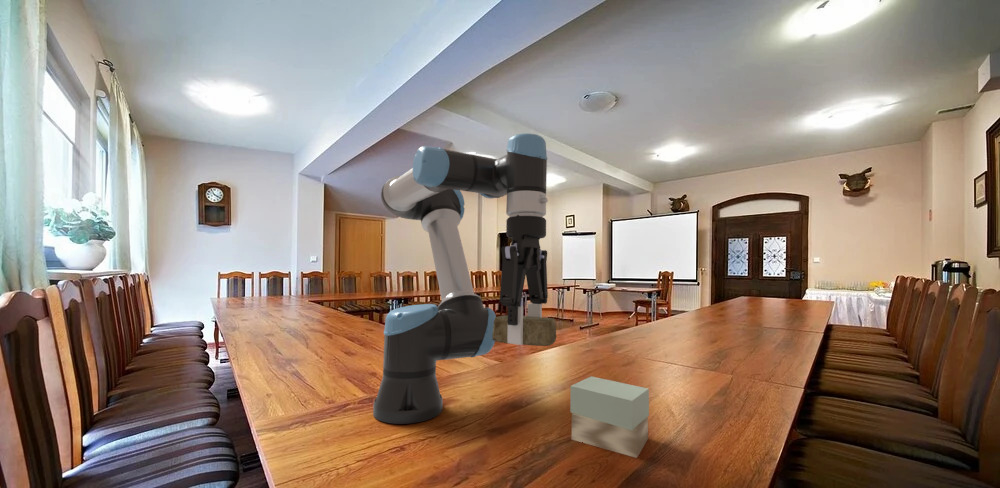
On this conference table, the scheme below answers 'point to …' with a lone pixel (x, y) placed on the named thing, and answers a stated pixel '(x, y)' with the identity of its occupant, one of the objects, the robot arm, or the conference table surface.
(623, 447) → the tower base
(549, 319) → the stone block
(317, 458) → the conference table surface
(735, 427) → the conference table surface
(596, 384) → the tower top
